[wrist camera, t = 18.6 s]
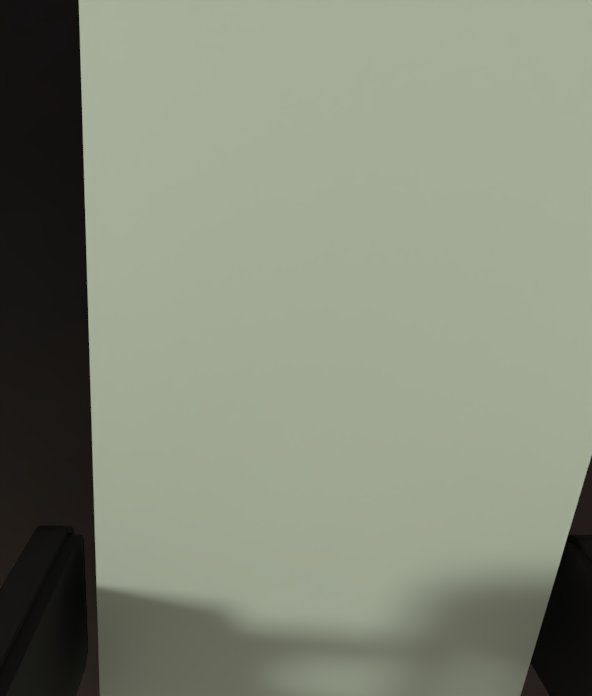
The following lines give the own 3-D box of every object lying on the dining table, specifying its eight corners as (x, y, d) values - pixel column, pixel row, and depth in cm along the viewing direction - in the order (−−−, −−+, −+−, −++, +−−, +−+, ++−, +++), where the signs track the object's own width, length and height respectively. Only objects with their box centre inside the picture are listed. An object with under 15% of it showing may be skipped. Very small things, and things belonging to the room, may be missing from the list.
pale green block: (382, 759, 17) (434, 984, 12) (149, 767, 16) (109, 1012, 11) (517, 79, 11) (724, 6, 6) (155, 33, 10) (74, -91, 5)
